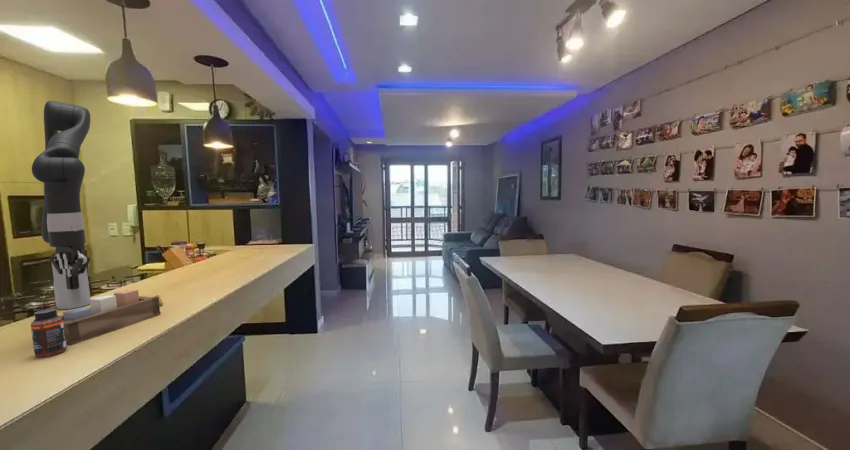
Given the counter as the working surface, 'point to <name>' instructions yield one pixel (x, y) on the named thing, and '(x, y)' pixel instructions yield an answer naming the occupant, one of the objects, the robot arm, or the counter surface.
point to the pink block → (126, 297)
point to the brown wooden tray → (110, 320)
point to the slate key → (77, 313)
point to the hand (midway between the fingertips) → (73, 289)
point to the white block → (102, 304)
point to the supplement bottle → (48, 333)
